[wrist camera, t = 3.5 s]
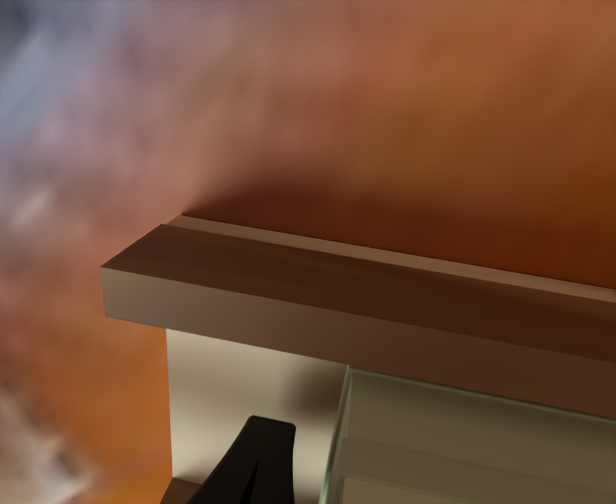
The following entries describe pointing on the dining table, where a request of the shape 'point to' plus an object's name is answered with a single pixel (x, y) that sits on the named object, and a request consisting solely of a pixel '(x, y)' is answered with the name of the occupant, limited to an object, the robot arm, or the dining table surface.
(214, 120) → the dining table surface
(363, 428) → the pale green block
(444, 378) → the bay
